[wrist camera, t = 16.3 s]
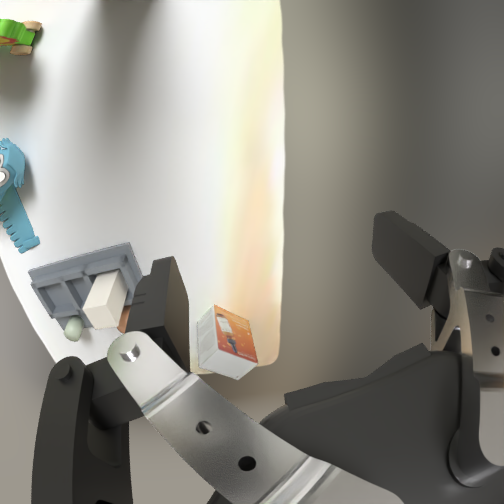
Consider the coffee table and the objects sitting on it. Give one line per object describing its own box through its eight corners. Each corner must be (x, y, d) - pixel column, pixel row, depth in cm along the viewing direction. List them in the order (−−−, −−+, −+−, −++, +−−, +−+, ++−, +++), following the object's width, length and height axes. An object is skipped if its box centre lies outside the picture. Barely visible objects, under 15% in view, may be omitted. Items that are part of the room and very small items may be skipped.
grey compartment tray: (29, 270, 37) (18, 284, 33) (129, 242, 38) (122, 257, 35) (64, 328, 44) (58, 344, 40) (159, 313, 46) (157, 331, 42)
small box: (248, 320, 50) (260, 364, 41) (231, 337, 52) (238, 381, 43) (213, 302, 47) (218, 349, 38) (196, 322, 48) (198, 368, 40)
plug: (98, 272, 39) (82, 309, 32) (119, 267, 40) (105, 304, 32) (108, 291, 41) (95, 329, 34) (128, 287, 42) (118, 326, 34)
